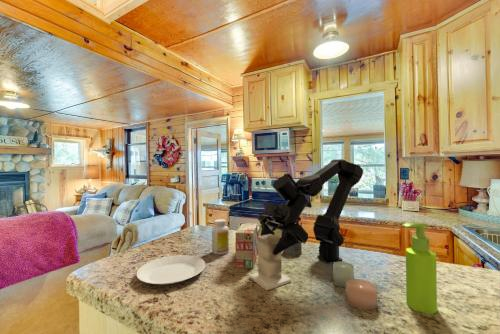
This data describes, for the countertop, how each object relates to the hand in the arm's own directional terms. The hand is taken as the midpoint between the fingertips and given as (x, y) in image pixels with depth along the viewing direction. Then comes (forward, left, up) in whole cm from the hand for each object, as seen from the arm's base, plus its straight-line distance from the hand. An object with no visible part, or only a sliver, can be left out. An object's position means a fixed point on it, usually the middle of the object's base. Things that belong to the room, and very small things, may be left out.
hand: (265, 250), depth 68 cm
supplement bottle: (+7, -28, -9) cm, 30 cm away
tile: (-1, 0, -9) cm, 9 cm away
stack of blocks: (-3, -20, -9) cm, 22 cm away
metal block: (-1, 0, -8) cm, 8 cm away
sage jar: (-20, +10, -9) cm, 24 cm away
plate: (+26, -16, -9) cm, 32 cm away
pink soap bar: (-17, +19, -9) cm, 27 cm away
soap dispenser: (-28, +26, -9) cm, 39 cm away
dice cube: (-20, -17, -9) cm, 27 cm away
